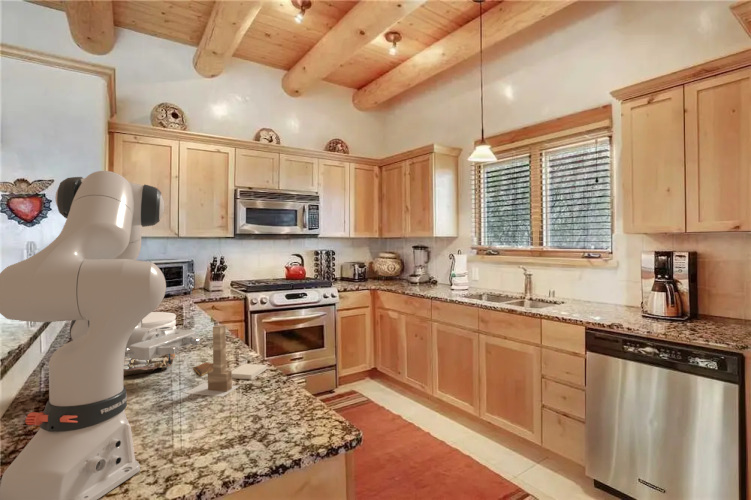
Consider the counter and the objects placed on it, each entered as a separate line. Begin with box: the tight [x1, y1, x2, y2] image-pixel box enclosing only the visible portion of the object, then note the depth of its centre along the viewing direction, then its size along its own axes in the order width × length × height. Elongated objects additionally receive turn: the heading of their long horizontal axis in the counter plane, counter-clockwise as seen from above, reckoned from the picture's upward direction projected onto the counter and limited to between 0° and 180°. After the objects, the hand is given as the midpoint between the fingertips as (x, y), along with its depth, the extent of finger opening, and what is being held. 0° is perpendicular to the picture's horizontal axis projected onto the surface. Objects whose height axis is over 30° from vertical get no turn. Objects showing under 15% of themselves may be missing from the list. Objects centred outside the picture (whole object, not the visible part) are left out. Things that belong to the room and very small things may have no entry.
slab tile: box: [231, 363, 268, 380], centre depth 127 cm, size 2×8×10 cm
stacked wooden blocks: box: [207, 324, 233, 392], centre depth 113 cm, size 2×6×18 cm, turn 76°
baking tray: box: [123, 353, 176, 377], centre depth 136 cm, size 30×22×5 cm
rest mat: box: [184, 382, 240, 397], centre depth 113 cm, size 8×12×1 cm, turn 76°
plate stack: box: [141, 311, 177, 329], centre depth 164 cm, size 28×28×12 cm
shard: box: [193, 362, 213, 377], centre depth 130 cm, size 11×8×2 cm
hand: (187, 345), depth 115 cm, fingers open, 8 cm apart
